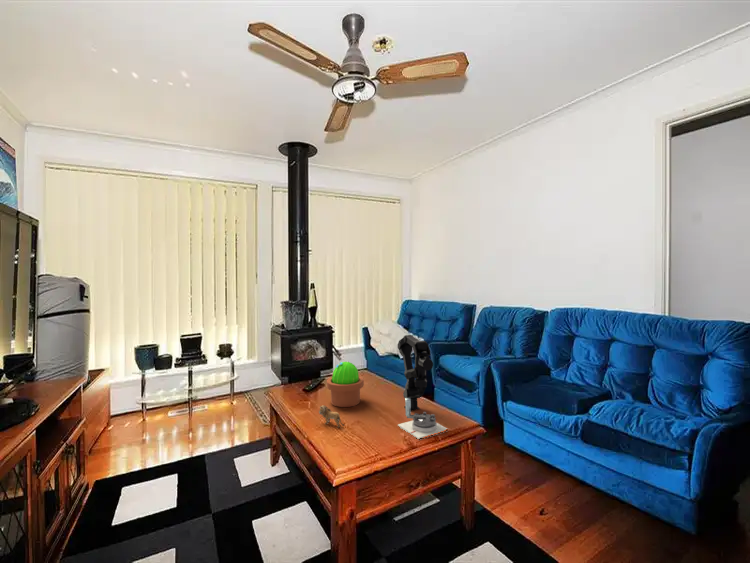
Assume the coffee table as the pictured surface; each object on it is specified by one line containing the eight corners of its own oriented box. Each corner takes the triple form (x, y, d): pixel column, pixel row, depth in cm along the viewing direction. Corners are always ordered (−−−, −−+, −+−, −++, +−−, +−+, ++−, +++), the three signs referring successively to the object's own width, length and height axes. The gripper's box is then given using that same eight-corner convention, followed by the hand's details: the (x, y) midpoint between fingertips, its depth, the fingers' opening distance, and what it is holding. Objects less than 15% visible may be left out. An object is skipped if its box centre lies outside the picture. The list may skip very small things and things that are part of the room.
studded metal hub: (435, 419, 179) (435, 395, 179) (435, 428, 168) (435, 404, 168) (406, 417, 181) (406, 394, 181) (404, 426, 170) (404, 402, 170)
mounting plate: (397, 426, 178) (397, 420, 178) (426, 418, 187) (426, 413, 187) (418, 440, 163) (418, 433, 163) (447, 430, 172) (447, 424, 172)
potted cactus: (366, 396, 222) (365, 356, 222) (361, 409, 200) (360, 365, 200) (331, 395, 224) (331, 356, 224) (323, 408, 203) (322, 365, 202)
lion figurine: (317, 424, 182) (316, 406, 182) (322, 419, 187) (322, 403, 187) (342, 428, 176) (341, 411, 176) (347, 424, 181) (346, 407, 181)
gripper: (405, 359, 197) (405, 387, 198) (404, 369, 179) (404, 399, 180) (425, 360, 196) (425, 387, 197) (426, 370, 178) (426, 400, 178)
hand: (420, 393), depth 188 cm, fingers open, 9 cm apart
